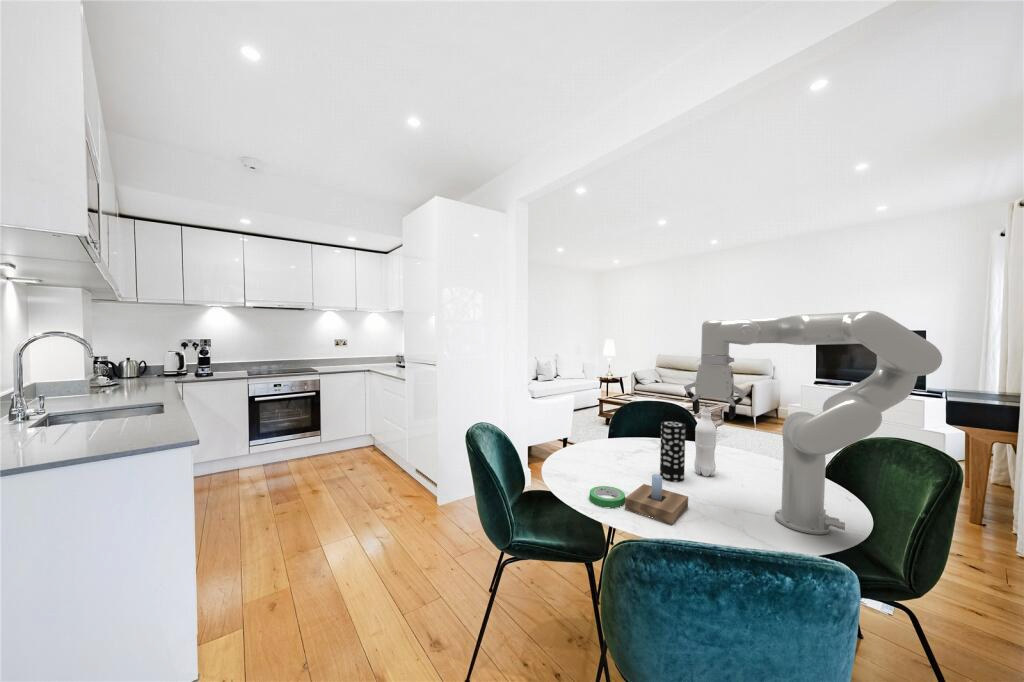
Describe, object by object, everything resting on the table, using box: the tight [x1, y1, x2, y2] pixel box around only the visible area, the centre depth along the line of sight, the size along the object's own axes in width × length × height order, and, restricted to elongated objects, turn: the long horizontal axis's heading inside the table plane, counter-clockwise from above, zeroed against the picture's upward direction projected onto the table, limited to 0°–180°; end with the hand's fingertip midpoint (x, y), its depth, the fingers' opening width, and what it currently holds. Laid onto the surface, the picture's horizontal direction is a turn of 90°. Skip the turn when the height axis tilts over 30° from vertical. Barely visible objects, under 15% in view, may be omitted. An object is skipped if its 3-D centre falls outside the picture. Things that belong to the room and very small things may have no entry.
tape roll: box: [589, 485, 626, 509], centre depth 122 cm, size 11×11×3 cm
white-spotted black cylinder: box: [659, 420, 686, 483], centre depth 140 cm, size 8×8×20 cm
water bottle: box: [693, 407, 717, 477], centre depth 144 cm, size 7×7×25 cm
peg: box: [651, 473, 663, 502], centre depth 116 cm, size 3×3×10 cm
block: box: [624, 483, 689, 526], centre depth 116 cm, size 14×14×4 cm
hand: (713, 415), depth 117 cm, fingers open, 9 cm apart
